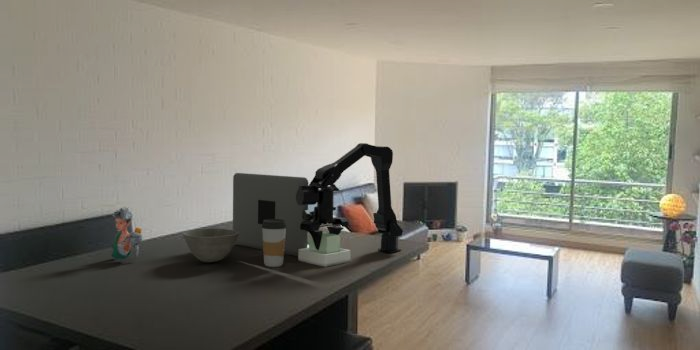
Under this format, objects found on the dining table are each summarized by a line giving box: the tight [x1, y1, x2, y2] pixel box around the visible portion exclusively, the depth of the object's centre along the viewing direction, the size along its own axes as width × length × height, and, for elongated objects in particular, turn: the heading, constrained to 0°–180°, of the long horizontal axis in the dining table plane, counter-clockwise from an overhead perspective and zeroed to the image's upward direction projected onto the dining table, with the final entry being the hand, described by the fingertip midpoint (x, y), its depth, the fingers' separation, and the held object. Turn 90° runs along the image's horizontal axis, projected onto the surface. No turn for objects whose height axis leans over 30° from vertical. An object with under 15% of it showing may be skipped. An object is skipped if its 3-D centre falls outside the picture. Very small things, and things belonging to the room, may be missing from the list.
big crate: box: [297, 247, 351, 268], centre depth 189 cm, size 12×13×4 cm
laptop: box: [232, 172, 309, 257], centre depth 213 cm, size 38×29×29 cm
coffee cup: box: [262, 219, 287, 268], centre depth 181 cm, size 8×8×15 cm
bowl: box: [182, 227, 239, 263], centre depth 185 cm, size 19×19×10 cm
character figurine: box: [111, 206, 143, 260], centre depth 185 cm, size 12×8×18 cm
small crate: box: [308, 231, 341, 254], centre depth 189 cm, size 6×9×6 cm
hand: (324, 248), depth 189 cm, fingers closed on small crate, 6 cm apart
